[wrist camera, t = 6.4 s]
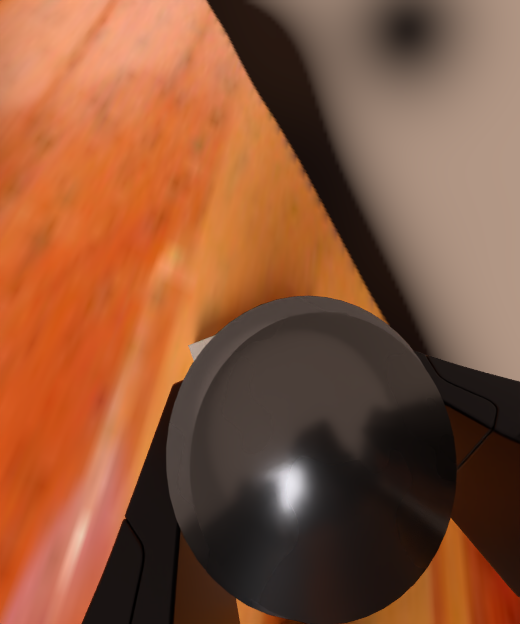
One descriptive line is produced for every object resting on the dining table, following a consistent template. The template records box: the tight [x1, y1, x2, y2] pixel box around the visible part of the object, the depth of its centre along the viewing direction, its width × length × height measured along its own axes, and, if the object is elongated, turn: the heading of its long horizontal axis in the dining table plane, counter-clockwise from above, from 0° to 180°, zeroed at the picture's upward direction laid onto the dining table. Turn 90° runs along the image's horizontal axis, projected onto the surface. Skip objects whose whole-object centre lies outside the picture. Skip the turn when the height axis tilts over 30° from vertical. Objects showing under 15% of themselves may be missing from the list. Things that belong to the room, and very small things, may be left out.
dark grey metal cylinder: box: [166, 296, 457, 624], centre depth 9 cm, size 5×5×12 cm
